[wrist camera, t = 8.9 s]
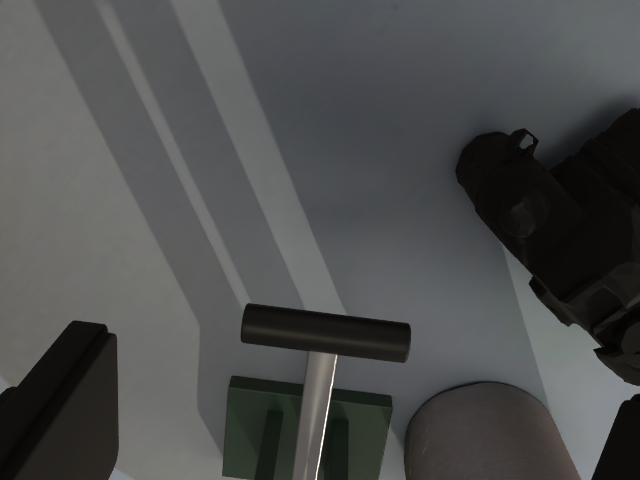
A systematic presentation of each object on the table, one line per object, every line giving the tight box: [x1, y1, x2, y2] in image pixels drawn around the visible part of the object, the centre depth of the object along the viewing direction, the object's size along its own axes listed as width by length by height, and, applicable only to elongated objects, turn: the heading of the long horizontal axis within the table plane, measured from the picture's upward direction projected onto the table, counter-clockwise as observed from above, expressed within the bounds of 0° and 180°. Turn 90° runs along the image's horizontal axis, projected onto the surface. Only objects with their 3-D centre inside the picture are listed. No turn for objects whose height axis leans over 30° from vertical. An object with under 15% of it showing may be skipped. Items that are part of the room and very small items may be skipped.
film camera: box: [456, 108, 640, 386], centre depth 28 cm, size 15×10×9 cm, turn 45°
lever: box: [241, 303, 411, 480], centre depth 26 cm, size 17×6×2 cm, turn 173°
